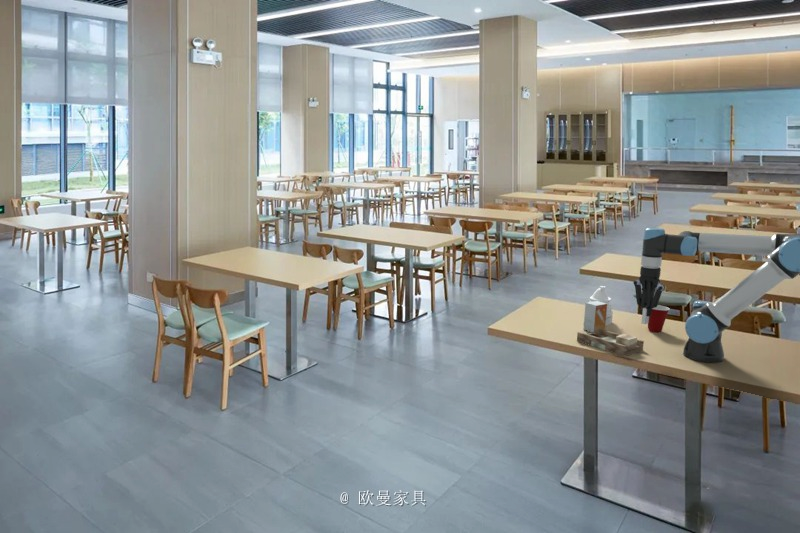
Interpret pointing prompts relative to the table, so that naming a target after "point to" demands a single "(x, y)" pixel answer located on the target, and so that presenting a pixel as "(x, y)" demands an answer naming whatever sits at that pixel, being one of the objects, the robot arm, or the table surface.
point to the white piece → (602, 297)
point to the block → (627, 340)
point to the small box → (595, 315)
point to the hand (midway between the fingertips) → (644, 323)
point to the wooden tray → (608, 342)
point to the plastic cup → (657, 318)
